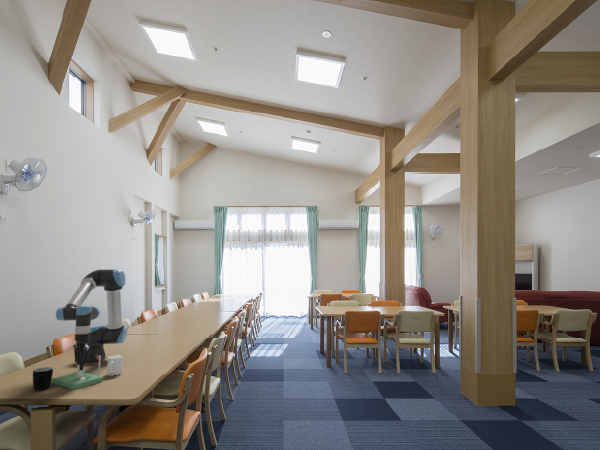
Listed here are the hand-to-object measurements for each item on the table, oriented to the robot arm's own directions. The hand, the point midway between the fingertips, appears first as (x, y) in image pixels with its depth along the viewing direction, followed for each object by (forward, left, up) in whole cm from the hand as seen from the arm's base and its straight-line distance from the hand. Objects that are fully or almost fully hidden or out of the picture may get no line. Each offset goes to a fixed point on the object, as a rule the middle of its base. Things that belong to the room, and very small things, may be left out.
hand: (79, 375), depth 211 cm
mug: (-6, -17, -4) cm, 18 cm away
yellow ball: (-8, +6, 0) cm, 10 cm away
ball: (+3, 0, -2) cm, 3 cm away
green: (-2, 0, -4) cm, 4 cm away
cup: (+2, +19, -4) cm, 20 cm away
